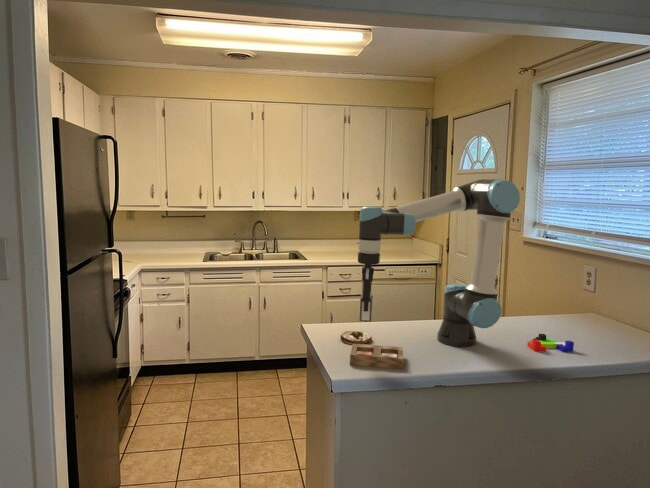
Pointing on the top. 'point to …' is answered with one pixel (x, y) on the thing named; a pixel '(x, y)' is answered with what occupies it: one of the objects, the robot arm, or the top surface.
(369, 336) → the bagel
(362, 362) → the socket board
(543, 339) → the building blocks
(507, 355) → the top surface
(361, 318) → the plug
